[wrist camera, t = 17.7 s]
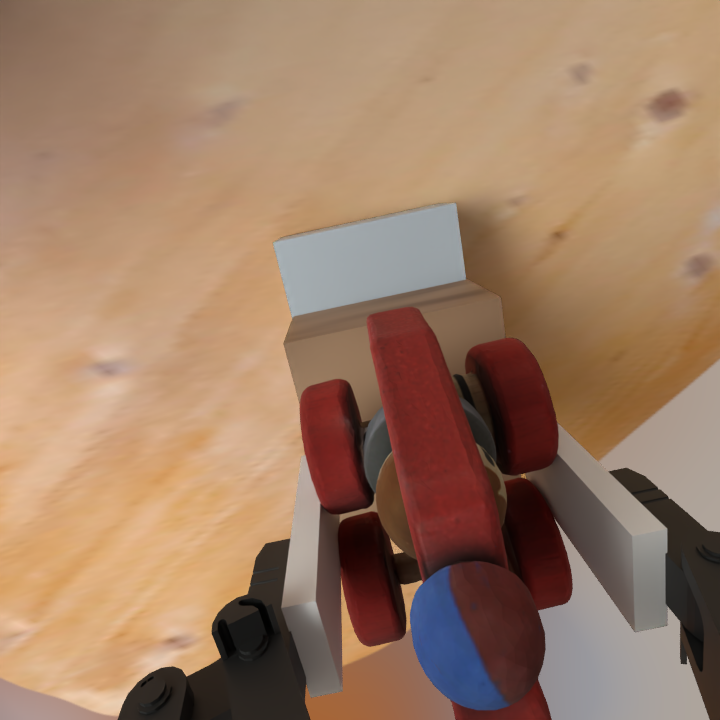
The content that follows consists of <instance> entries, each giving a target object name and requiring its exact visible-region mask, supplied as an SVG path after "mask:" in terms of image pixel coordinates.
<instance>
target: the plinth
mask: <svg viewBox="0 0 720 720" xmlns="http://www.w3.org/2000/svg"><path fill="white" fill-rule="evenodd" d="M273 245H274V249H275V253H276V257H277V261H278V265H279V269H280V273H281V276H282V280H283V284H284V288H285V292H286V296H287V300H288V304H289V308H290V311H291V315H292V319H293V316H298V315H302V314H307V313H312V312H317V311H321V310H326V309H331V308H335V307H340V306H345V305H349V304H354V303H359V302H363V301H368V300H373V299H377V298H382V297H387V296H391V295H396V294H401V293H405V292H410V291H415V290H419V289H424V288H429V287H433V286H438V285H443V284H447V283H452V282H457V281H461V280H466V274H465V266H464V259H463V252H462V244H461V237H460V229H459V222H458V214H457V207H456V203H438V204H434V205H429V206H424V207H420V208H415V209H411V210H406V211H401V212H397V213H392V214H387V215H383V216H378V217H374V218H369V219H364V220H360V221H355V222H350V223H346V224H341V225H337V226H332V227H327V228H323V229H318V230H313V231H309V232H304V233H300V234H295V235H290V236H286V237H281V238H280V239H278V240H276V241H275V242H273Z"/></svg>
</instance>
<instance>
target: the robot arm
mask: <svg viewBox="0 0 720 720" xmlns="http://www.w3.org/2000/svg"><path fill="white" fill-rule="evenodd" d="M557 424H558V423H557ZM558 433H559V439H558V451H557V455H556V457H555V460H554V462H553V463H552V464H551V465H550V466H548V467H546V468H544V469H541V470H537V471H532V472H528V473H526V479H527V480H529V481H530V482H531V483H532V484H533V485H534V486H535V487H536V488H537V489H538V490H539V491H540V493H541V494H542V496H543V498H544V499H545V501H546V503H547V504H548V506H549V508H550V510H551V513H552V515H553V517H554V518H555V520H556V521H557V522H558V524H559V525H560V527H561V528H562V530H563V531H564V532H565V534H566V535H567V536H568V538H569V539H570V541H571V542H572V544H573V545H574V547H575V548H576V549H577V551H578V552H579V554H580V555H581V556H582V558H583V559H584V561H585V562H586V563H587V565H588V566H589V568H590V569H591V571H592V572H593V573H594V575H595V576H596V578H597V579H598V581H599V582H600V583H601V585H602V586H603V588H604V589H605V590H606V592H607V593H608V595H609V596H610V597H611V599H612V600H613V602H614V603H615V604H616V606H617V607H618V609H619V610H620V612H621V613H622V615H623V616H624V617H625V619H626V620H627V622H628V623H629V624H630V626H631V627H632V629H633V630H634V632H639V631H643V630H649V629H654V628H659V627H664V626H667V606H668V607H669V608H670V609H671V611H672V612H673V613H674V614H675V616H676V617H677V618H678V619H679V620H680V659H681V664H687V656H688V659H689V662H690V665H691V668H692V670H693V673H694V676H695V679H696V682H697V684H698V687H699V690H700V693H701V696H702V699H703V702H704V704H705V707H706V710H707V713H708V715H709V719H710V720H720V532H713V531H707V530H706V529H705V528H704V527H703V526H701V525H700V524H699V523H698V522H697V521H696V520H695V519H693V518H692V517H691V516H690V515H689V514H688V513H687V512H685V511H684V510H683V509H682V508H681V507H679V505H677V504H676V503H675V502H674V501H673V500H672V499H669V498H668V496H667V495H666V494H665V493H664V492H662V491H661V490H658V488H657V487H656V486H655V485H654V484H653V483H652V482H651V481H650V480H648V479H647V478H646V477H645V476H643V475H641V474H639V473H637V472H635V471H632V470H630V469H628V468H623V469H618V470H613V471H607V470H606V469H605V468H604V467H603V466H602V465H601V464H600V463H599V462H598V461H597V460H596V459H595V458H594V457H593V456H591V455H590V454H589V453H588V452H587V451H586V450H585V449H584V448H583V447H582V446H581V445H580V444H579V443H578V442H577V441H576V440H575V439H574V438H573V437H572V436H571V435H570V434H569V433H568V432H567V431H566V430H565V429H564V428H563V427H562V426H560V425H559V424H558ZM339 525H340V516H339V515H333V514H330V513H329V512H327V511H326V510H325V509H324V508H323V506H322V505H321V503H320V501H319V498H318V496H317V494H316V490H315V487H314V484H313V482H312V480H311V476H310V471H309V468H308V464H307V460H306V455H304V456H301V463H300V471H299V478H298V486H297V493H296V501H295V508H294V516H293V523H292V531H291V538H290V539H286V540H281V541H276V542H271V543H266V544H265V546H264V547H263V548H262V550H261V551H260V553H259V554H258V556H257V557H256V560H255V565H254V569H253V575H252V578H251V583H250V585H251V587H249V592H248V594H247V595H244V596H241V597H238V598H236V599H234V600H233V601H231V602H230V603H228V604H227V605H226V606H225V607H224V608H223V609H222V610H221V611H220V612H219V613H218V614H217V616H216V618H215V620H214V622H213V624H212V635H213V638H214V640H215V643H216V645H217V648H218V650H219V653H220V655H221V658H220V659H219V660H217V661H216V662H214V663H212V664H211V665H209V666H207V667H205V668H203V669H201V670H199V671H197V672H195V673H193V674H191V675H189V676H187V677H186V675H185V674H184V672H183V671H182V670H181V669H179V668H176V667H173V666H172V667H165V668H160V669H158V670H156V671H154V672H152V673H150V674H148V675H147V676H146V677H144V678H143V679H142V680H140V681H139V682H138V683H137V684H136V685H135V687H134V688H133V689H132V690H131V691H130V692H129V694H128V695H127V697H126V699H125V701H124V703H123V705H122V708H121V711H120V714H119V717H118V720H310V717H309V714H308V711H307V708H306V705H305V688H306V685H307V688H308V691H309V694H310V697H317V696H322V695H327V694H332V693H337V692H341V691H343V688H342V687H343V685H342V625H341V566H340V557H339V544H338V530H339Z"/></svg>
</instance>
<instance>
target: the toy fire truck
mask: <svg viewBox="0 0 720 720" xmlns="http://www.w3.org/2000/svg"><path fill="white" fill-rule="evenodd" d="M366 322H367V329H368V336H369V342H370V350H371V355H372V359H373V363H374V367H375V372H376V377H377V381H378V386H379V391H380V396H381V401H382V405H383V406H382V407H381V408H380V409H379V410H378V411H377V413H376V414H375V416H374V417H373V418H372V420H369V421H365V422H362V419H361V415H360V412H359V408H358V405H357V402H356V399H355V396H354V393H353V390H352V387H351V385H350V383H349V382H347V381H346V380H343V379H333V380H330V381H326V382H322V383H318V384H314V385H311V386H309V387H307V388H306V389H305V390H304V391H303V393H302V395H301V399H300V422H301V430H302V440H303V443H304V450H305V455H306V460H307V464H308V468H309V471H310V476H311V480H312V482H313V484H314V487H315V490H316V494H317V496H318V498H319V501H320V503H321V505H322V506H323V508H324V509H325V510H326V511H327V512H329V513H330V514H333V515H341V514H345V513H349V512H353V511H357V510H360V509H367V508H369V507H370V506H371V505H372V504H373V502H374V494H376V505H377V512H378V513H377V512H374V511H370V512H367V513H363V514H359V515H355V516H351V517H348V518H345V519H343V520H342V521H341V523H340V525H339V530H338V544H339V557H340V566H341V579H342V585H343V590H344V596H345V600H346V604H347V609H348V612H349V615H350V619H351V622H352V625H353V628H354V631H355V633H356V635H357V637H358V639H359V641H360V642H361V643H362V644H363V645H366V646H369V647H370V646H376V645H381V644H385V643H389V642H393V641H397V640H400V639H402V638H403V636H404V635H405V633H406V612H405V604H404V599H403V594H402V589H401V585H400V584H404V585H405V584H410V583H414V582H417V581H419V580H422V581H423V584H422V585H421V586H420V587H419V588H418V590H417V591H416V593H415V596H414V599H413V602H412V606H411V612H410V624H411V631H412V638H413V645H414V649H415V651H416V654H417V657H418V660H419V662H420V664H421V666H422V668H423V670H424V672H425V674H426V675H427V677H428V678H429V679H430V681H431V682H432V683H433V685H434V686H435V687H436V688H437V689H438V690H439V691H440V692H441V693H442V694H444V695H445V696H446V697H447V698H449V699H450V700H451V702H452V706H453V709H454V714H455V719H456V720H552V719H551V716H550V712H549V708H548V705H547V702H546V699H545V697H544V694H543V691H542V689H541V686H540V684H539V681H538V676H539V673H540V671H541V668H542V665H543V660H544V654H545V632H544V629H543V626H542V623H541V619H540V616H539V613H538V610H542V609H546V608H550V607H554V606H558V605H563V604H565V603H567V602H568V601H569V600H570V597H571V595H572V589H573V588H572V574H571V569H570V564H569V560H568V556H567V552H566V550H565V546H564V543H563V540H562V537H561V534H560V531H559V528H558V526H557V524H556V522H555V519H554V517H553V515H552V513H551V510H550V508H549V506H548V504H547V503H546V501H545V499H544V498H543V496H542V494H541V493H540V491H539V490H538V489H537V488H536V487H535V486H534V485H533V484H532V483H531V482H530V481H529V480H527V479H525V478H519V477H518V478H515V479H511V480H508V481H503V477H502V475H501V473H502V474H505V475H510V476H517V475H519V474H523V473H528V472H532V471H537V470H541V469H544V468H546V467H548V466H550V465H551V464H552V463H553V462H554V460H555V457H556V455H557V451H558V439H559V433H558V424H557V421H556V414H555V411H554V408H553V404H552V400H551V396H550V393H549V390H548V387H547V384H546V381H545V379H544V376H543V373H542V371H541V369H540V367H539V364H538V362H537V360H536V359H535V357H534V355H533V354H532V353H531V352H530V350H529V349H528V348H527V347H526V345H525V344H524V343H523V342H521V341H519V340H518V339H514V338H504V339H499V340H495V341H491V342H487V343H482V344H478V345H476V346H474V347H472V348H471V349H470V350H469V351H468V353H467V355H466V359H465V370H466V374H464V375H459V374H454V375H453V376H452V377H451V374H450V372H449V369H448V367H447V364H446V361H445V358H444V355H443V353H442V350H441V347H440V344H439V342H438V340H437V337H436V335H435V333H434V332H433V330H432V329H431V327H430V326H429V325H428V323H427V322H426V320H425V319H424V317H423V315H422V314H421V312H420V310H419V309H418V308H414V307H403V308H398V309H393V310H388V311H383V312H378V313H374V314H370V315H369V316H368V317H367V321H366ZM500 471H501V472H500ZM389 537H390V538H391V540H392V541H393V542H394V543H395V544H396V545H397V546H398V547H399V548H400V549H401V550H402V551H404V552H403V553H398V554H394V553H393V549H392V546H391V542H390V538H389Z"/></svg>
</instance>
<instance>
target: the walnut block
mask: <svg viewBox="0 0 720 720" xmlns="http://www.w3.org/2000/svg"><path fill="white" fill-rule="evenodd" d="M403 307H414V308H418V309H419V310H420V312H421V314H422V315H423V317H424V319H425V320H426V322H427V323H428V325H429V326H430V327H431V329H432V330H433V332H434V333H435V335H436V337H437V340H438V342H439V344H440V347H441V350H442V353H443V355H444V358H445V361H446V364H447V367H448V369H449V372H450V374H451V377H452V376H453V375H454V374H459V375H464V374H466V370H465V359H466V355H467V353H468V351H469V350H470V349H471V348H472V347H474V346H476V345H478V344H482V343H487V342H491V341H495V340H499V339H504V338H506V337H505V328H504V319H503V310H502V301H501V297H500V296H498V295H496V294H494V293H492V292H490V291H489V290H487V289H485V288H483V287H481V286H479V285H478V284H476V283H474V282H472V281H470V280H468V279H466V280H461V281H457V282H452V283H447V284H443V285H438V286H433V287H429V288H424V289H419V290H415V291H410V292H405V293H401V294H396V295H391V296H387V297H382V298H377V299H373V300H368V301H363V302H359V303H354V304H349V305H345V306H340V307H335V308H331V309H326V310H321V311H317V312H312V313H307V314H302V315H298V316H293V319H292V322H291V324H290V327H289V330H288V333H287V335H286V338H285V341H284V343H283V344H284V348H285V351H286V355H287V359H288V363H289V366H290V370H291V374H292V377H293V381H294V385H295V389H296V392H297V396H298V400H299V404H300V399H301V395H302V393H303V391H304V390H305V389H306V388H307V387H309V386H311V385H314V384H318V383H322V382H326V381H330V380H333V379H343V380H346V381H347V382H349V383H350V385H351V387H352V390H353V393H354V396H355V399H356V402H357V405H358V408H359V412H360V415H361V419H362V422H365V421H369V420H372V418H373V417H374V416H375V414H376V413H377V411H378V410H379V409H380V408H381V407H382V406H383V405H382V401H381V396H380V391H379V386H378V381H377V377H376V372H375V367H374V363H373V359H372V355H371V350H370V342H369V336H368V329H367V322H366V321H367V317H368V316H369V315H370V314H374V313H378V312H383V311H388V310H393V309H398V308H403ZM500 472H501V471H500ZM501 475H502V477H503V481H508V480H511V479H515V478H518V477H519V478H521V474H519V475H517V476H510V475H505V474H502V473H501ZM370 511H374V512H377V505H376V494H374V502H373V504H372V505H371V506H370V507H369V508H367V509H360V510H357V511H353V512H349V513H345V514H341V515H339V516H340V523H341V521H342V520H343V519H345V518H348V517H351V516H355V515H359V514H363V513H367V512H370ZM377 513H378V512H377Z"/></svg>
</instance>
